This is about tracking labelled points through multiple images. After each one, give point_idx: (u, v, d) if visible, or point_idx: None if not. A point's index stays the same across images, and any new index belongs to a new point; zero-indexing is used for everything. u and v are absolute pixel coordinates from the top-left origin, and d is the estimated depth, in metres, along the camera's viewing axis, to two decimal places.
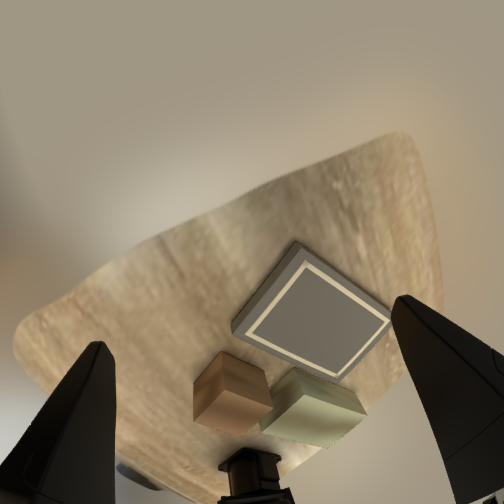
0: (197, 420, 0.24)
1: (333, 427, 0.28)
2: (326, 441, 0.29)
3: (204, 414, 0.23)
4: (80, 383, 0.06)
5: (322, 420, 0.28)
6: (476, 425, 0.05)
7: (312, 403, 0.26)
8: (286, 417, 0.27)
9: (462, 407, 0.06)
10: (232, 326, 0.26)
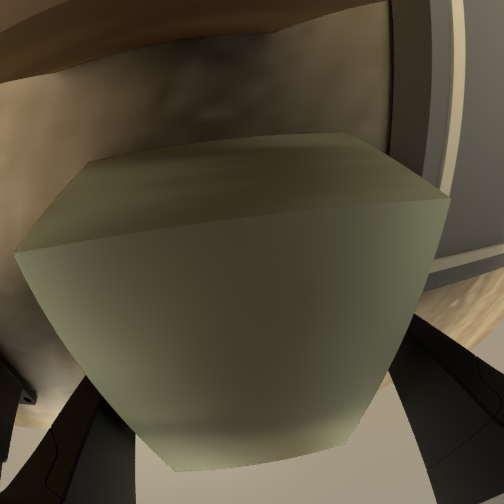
0: None
1: (270, 438, 0.08)
2: (198, 460, 0.08)
3: None
4: None
5: (294, 400, 0.07)
6: (458, 436, 0.05)
7: (398, 289, 0.05)
8: (237, 262, 0.04)
9: (444, 417, 0.06)
10: None
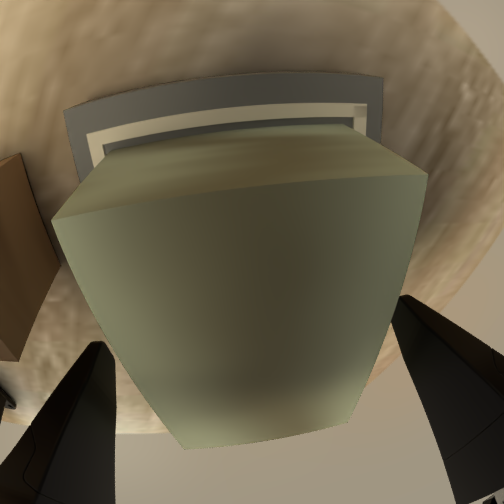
0: None
1: (275, 409, 0.09)
2: (206, 435, 0.09)
3: None
4: (80, 383, 0.06)
5: (296, 367, 0.07)
6: (476, 425, 0.05)
7: (386, 255, 0.06)
8: (244, 225, 0.05)
9: (462, 407, 0.06)
10: (81, 103, 0.07)
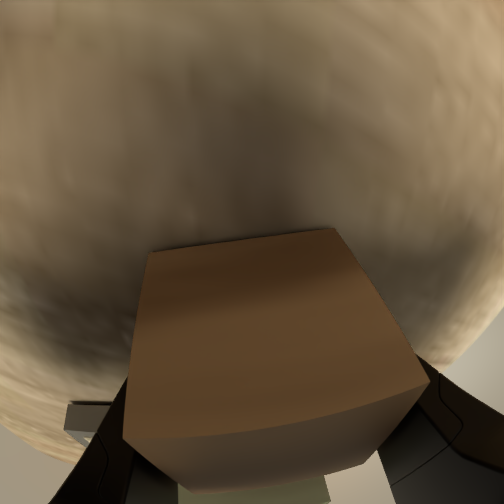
0: (414, 395, 0.04)
1: None
2: None
3: (390, 422, 0.05)
4: None
5: None
6: (416, 457, 0.05)
7: None
8: None
9: (402, 435, 0.06)
10: None
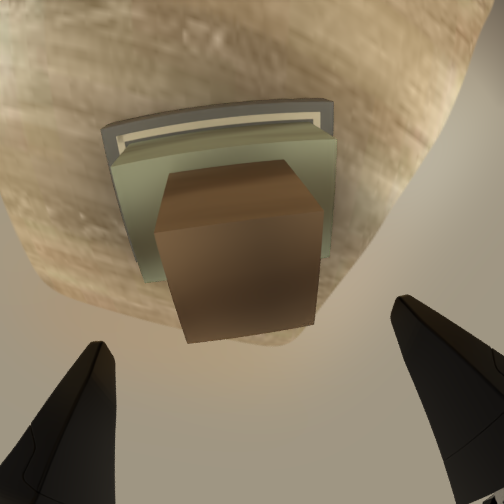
0: (316, 221, 0.09)
1: None
2: (146, 185, 0.13)
3: (312, 251, 0.10)
4: (80, 383, 0.06)
5: None
6: (476, 425, 0.05)
7: None
8: (321, 202, 0.15)
9: (462, 407, 0.06)
10: None
